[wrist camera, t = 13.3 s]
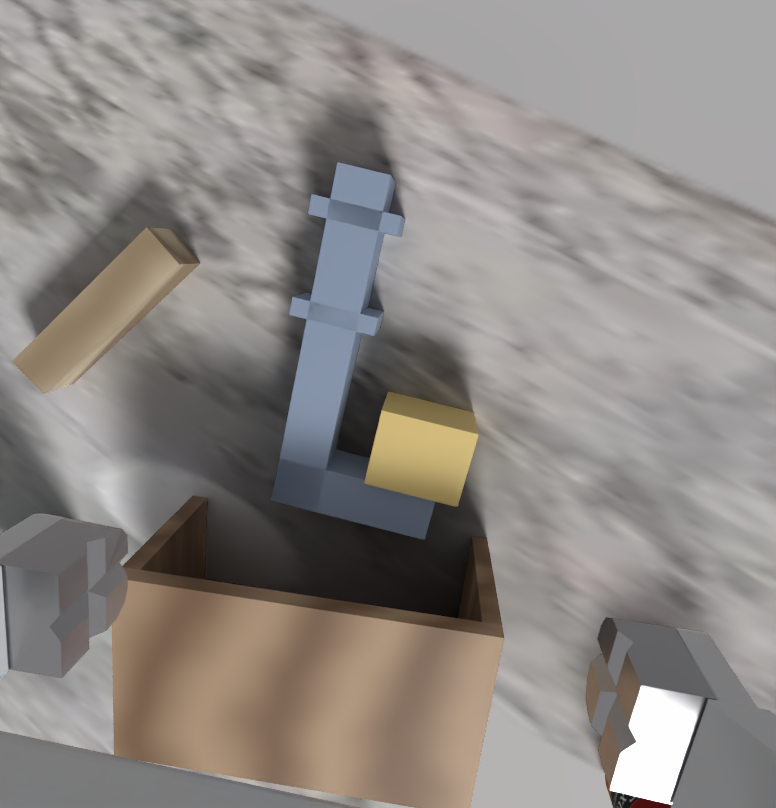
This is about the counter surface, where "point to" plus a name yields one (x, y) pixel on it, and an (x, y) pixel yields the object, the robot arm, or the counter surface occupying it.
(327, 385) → the crook
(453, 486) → the ochre block
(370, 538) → the counter surface
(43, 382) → the beech stick
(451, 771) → the box
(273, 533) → the counter surface
